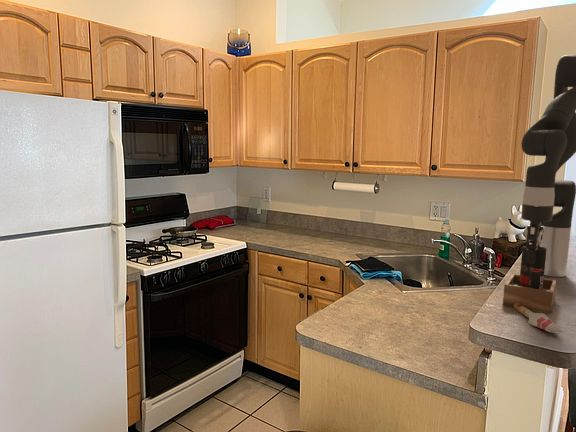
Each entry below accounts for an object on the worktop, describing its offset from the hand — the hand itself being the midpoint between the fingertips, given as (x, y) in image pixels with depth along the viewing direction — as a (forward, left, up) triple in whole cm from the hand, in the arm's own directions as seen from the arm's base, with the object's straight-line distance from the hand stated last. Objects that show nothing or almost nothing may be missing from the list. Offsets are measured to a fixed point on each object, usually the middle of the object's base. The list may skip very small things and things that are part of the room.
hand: (532, 260), depth 125 cm
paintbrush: (+16, +3, -13) cm, 21 cm away
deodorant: (0, 0, -12) cm, 12 cm away
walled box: (0, 0, -12) cm, 12 cm away
